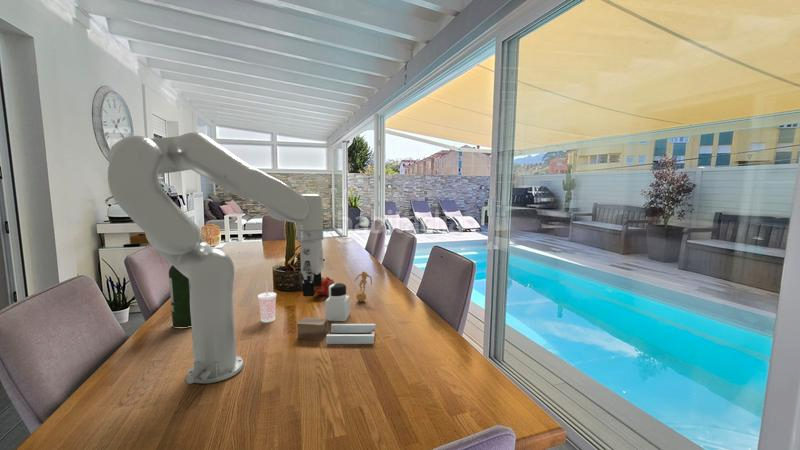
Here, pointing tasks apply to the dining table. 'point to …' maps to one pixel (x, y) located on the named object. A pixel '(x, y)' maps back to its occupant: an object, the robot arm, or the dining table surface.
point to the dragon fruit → (323, 287)
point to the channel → (351, 337)
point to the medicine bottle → (337, 303)
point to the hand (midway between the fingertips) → (312, 290)
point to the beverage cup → (267, 305)
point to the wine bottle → (180, 298)
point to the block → (312, 328)
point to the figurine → (361, 295)
